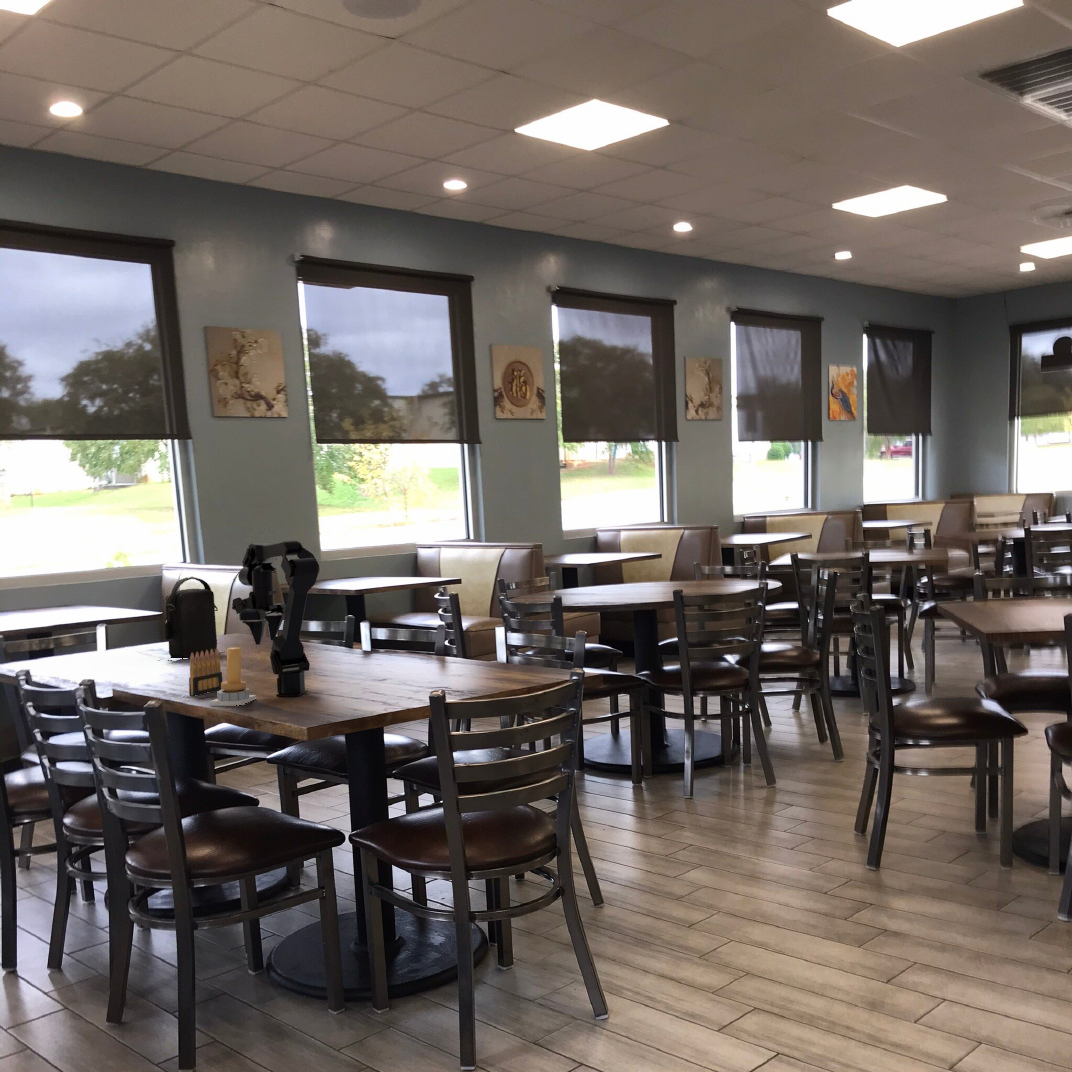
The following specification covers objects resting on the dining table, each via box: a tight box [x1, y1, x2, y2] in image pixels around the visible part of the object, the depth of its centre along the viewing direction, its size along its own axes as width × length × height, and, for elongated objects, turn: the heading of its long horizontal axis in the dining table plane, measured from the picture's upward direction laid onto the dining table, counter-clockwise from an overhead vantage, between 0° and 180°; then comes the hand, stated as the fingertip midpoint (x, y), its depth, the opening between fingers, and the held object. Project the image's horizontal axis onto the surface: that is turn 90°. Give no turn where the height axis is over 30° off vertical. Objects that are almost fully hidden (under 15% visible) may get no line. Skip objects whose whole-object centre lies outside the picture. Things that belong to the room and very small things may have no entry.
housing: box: [209, 687, 257, 707], centre depth 273 cm, size 9×9×3 cm
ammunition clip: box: [188, 647, 224, 697], centre depth 290 cm, size 11×2×12 cm, turn 150°
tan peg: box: [221, 647, 247, 693], centre depth 273 cm, size 6×6×13 cm
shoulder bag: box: [157, 576, 225, 662], centre depth 365 cm, size 23×9×28 cm, turn 151°
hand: (265, 642), depth 294 cm, fingers open, 9 cm apart
